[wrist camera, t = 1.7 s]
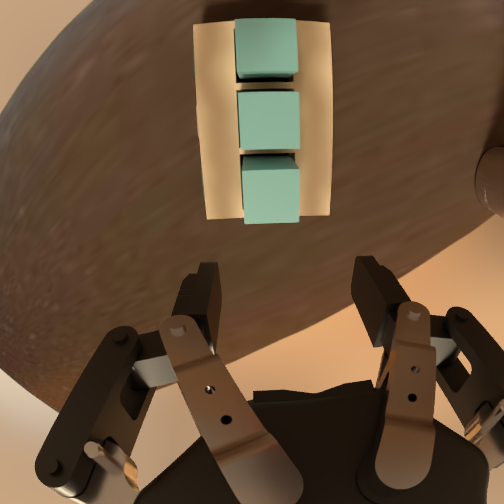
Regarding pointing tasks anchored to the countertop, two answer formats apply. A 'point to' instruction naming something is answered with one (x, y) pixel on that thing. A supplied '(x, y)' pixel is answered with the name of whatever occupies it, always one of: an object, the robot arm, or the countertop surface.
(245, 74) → the button
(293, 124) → the button middle
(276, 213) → the button
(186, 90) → the countertop surface
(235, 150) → the button board
